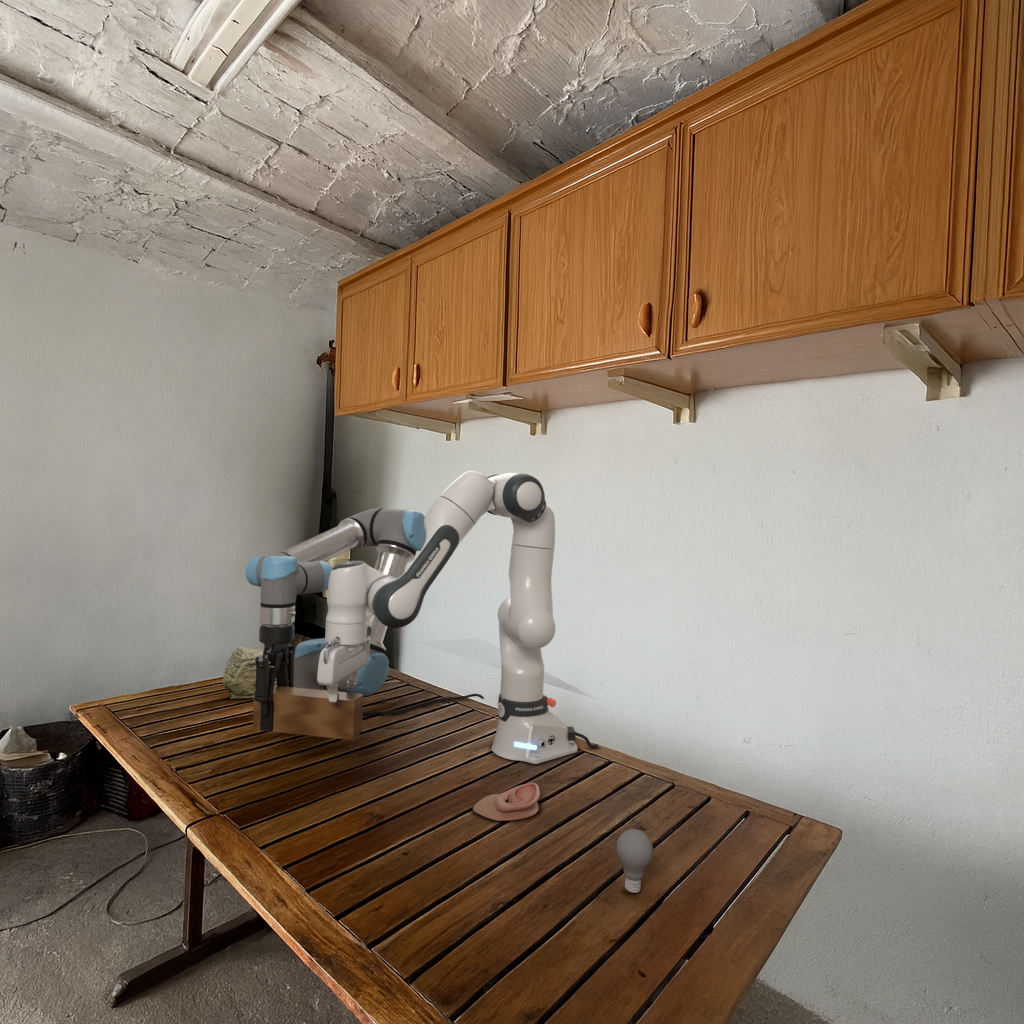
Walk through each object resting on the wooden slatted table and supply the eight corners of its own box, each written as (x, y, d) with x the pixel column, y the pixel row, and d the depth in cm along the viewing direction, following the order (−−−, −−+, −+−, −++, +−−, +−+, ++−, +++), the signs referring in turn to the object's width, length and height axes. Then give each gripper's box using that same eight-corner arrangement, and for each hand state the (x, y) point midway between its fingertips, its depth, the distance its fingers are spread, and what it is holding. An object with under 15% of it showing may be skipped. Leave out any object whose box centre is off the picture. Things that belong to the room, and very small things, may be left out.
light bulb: (610, 879, 108) (613, 822, 108) (644, 879, 109) (647, 822, 109) (619, 902, 102) (622, 840, 102) (655, 901, 103) (658, 840, 103)
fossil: (218, 695, 195) (220, 647, 195) (278, 685, 208) (279, 640, 207) (228, 703, 189) (230, 653, 188) (289, 692, 201) (290, 645, 201)
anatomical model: (469, 797, 128) (483, 773, 139) (468, 816, 128) (482, 791, 139) (534, 806, 125) (543, 781, 136) (533, 826, 125) (542, 799, 136)
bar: (252, 729, 143) (253, 691, 143) (264, 721, 148) (266, 684, 148) (352, 740, 139) (354, 701, 139) (362, 731, 144) (363, 693, 144)
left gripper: (271, 633, 135) (267, 741, 135) (311, 618, 153) (307, 713, 153) (238, 630, 136) (235, 738, 136) (282, 615, 154) (278, 710, 154)
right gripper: (339, 644, 131) (336, 710, 131) (375, 626, 151) (372, 683, 152) (310, 642, 132) (307, 707, 132) (350, 624, 152) (347, 681, 152)
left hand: (273, 725), depth 145 cm, fingers closed on bar, 5 cm apart
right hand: (342, 694), depth 142 cm, fingers open, 8 cm apart
